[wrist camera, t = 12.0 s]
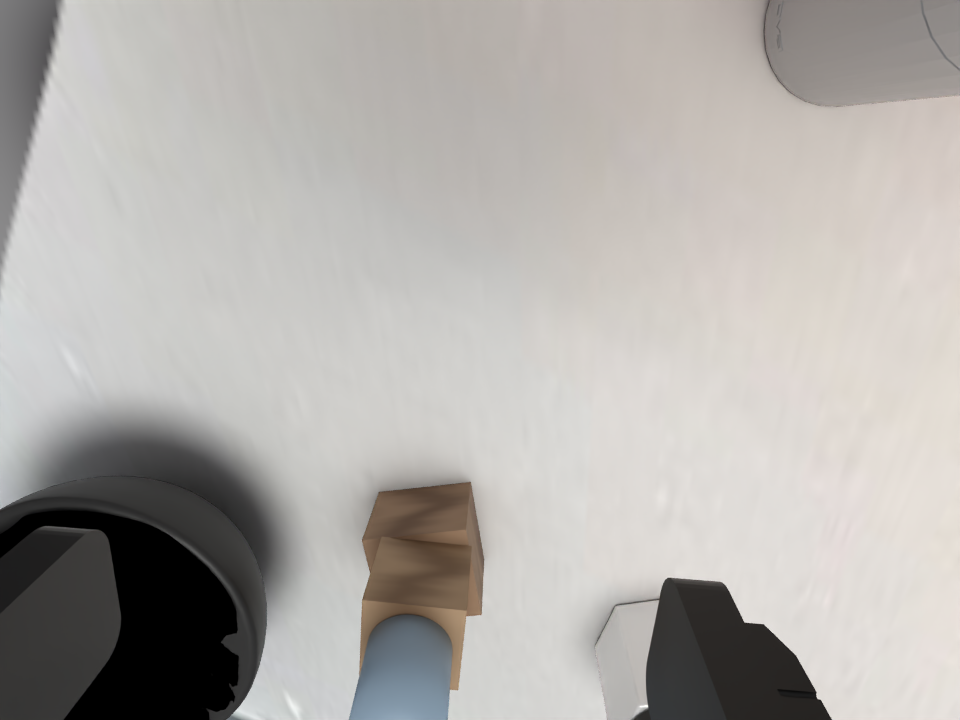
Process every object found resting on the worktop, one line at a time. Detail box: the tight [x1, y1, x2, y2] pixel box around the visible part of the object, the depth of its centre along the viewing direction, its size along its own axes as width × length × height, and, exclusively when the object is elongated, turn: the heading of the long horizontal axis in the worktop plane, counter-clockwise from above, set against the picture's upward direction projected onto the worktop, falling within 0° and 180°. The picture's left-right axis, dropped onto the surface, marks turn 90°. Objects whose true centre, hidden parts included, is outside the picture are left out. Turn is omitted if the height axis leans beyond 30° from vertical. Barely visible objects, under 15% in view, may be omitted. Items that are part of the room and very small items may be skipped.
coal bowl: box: [0, 476, 267, 720], centre depth 40 cm, size 20×20×19 cm
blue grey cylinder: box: [349, 615, 452, 720], centre depth 34 cm, size 5×5×6 cm
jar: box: [595, 600, 659, 720], centre depth 45 cm, size 9×8×12 cm
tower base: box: [362, 482, 484, 616], centre depth 45 cm, size 7×7×6 cm
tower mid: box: [359, 537, 472, 690], centre depth 39 cm, size 6×6×6 cm
